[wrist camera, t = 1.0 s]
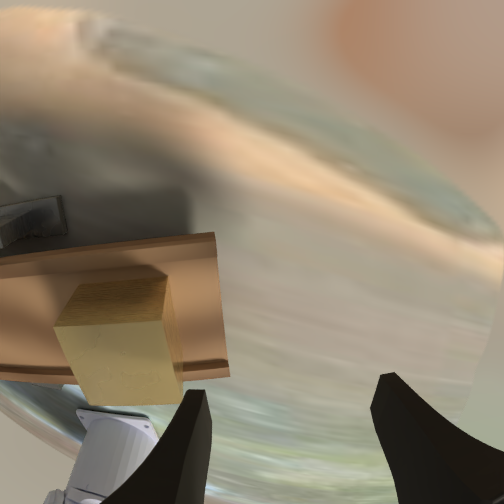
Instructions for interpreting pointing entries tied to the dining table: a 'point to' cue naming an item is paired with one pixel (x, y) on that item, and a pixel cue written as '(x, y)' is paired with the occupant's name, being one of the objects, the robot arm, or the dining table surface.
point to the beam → (106, 270)
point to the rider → (123, 342)
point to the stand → (32, 227)
